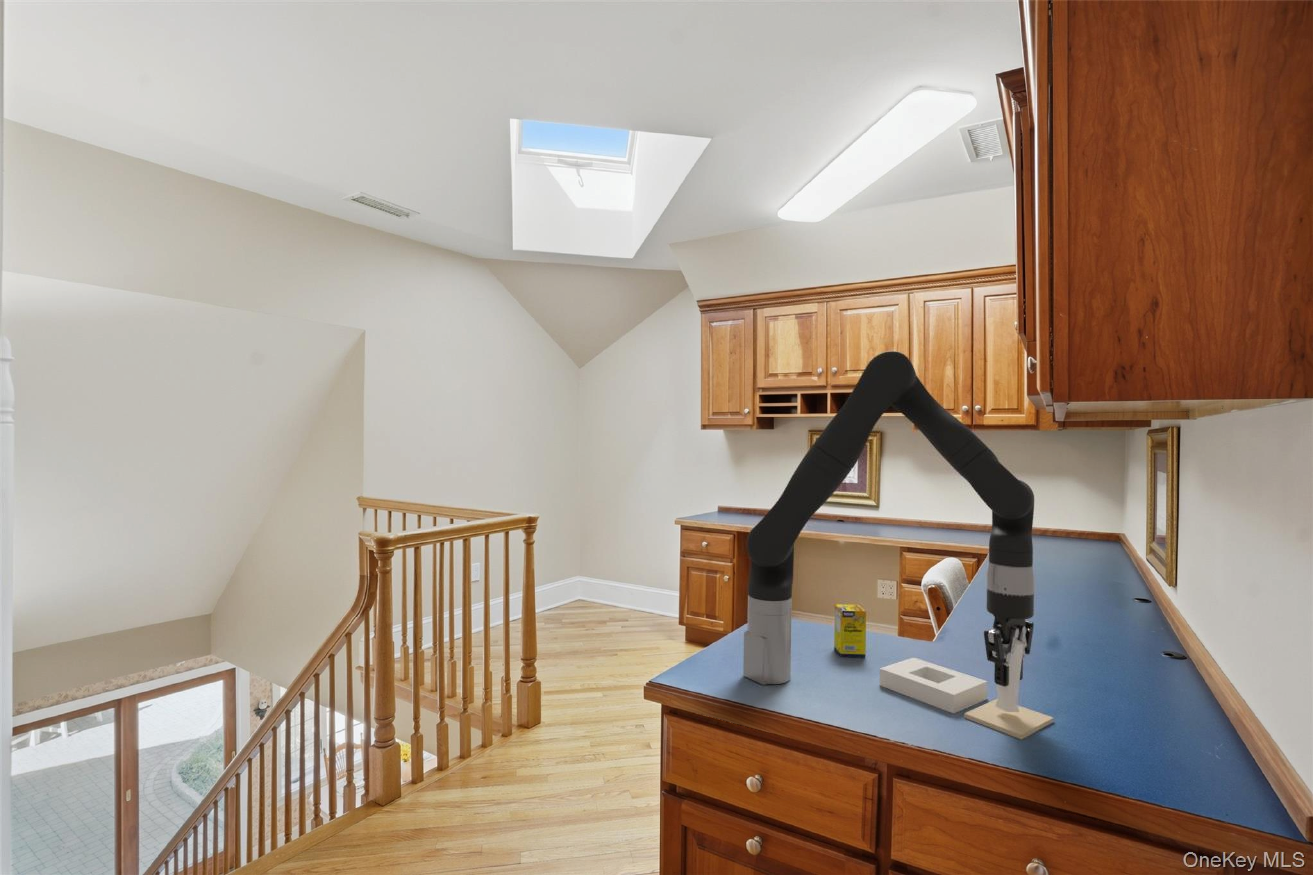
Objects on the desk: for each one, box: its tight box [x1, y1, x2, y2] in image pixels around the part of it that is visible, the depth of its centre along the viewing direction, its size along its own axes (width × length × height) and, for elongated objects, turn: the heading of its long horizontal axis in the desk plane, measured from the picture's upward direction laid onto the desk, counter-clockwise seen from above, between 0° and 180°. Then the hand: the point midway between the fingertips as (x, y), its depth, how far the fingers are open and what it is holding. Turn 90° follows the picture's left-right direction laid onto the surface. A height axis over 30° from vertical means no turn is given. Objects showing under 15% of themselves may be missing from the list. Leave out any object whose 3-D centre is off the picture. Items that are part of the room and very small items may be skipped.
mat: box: [963, 698, 1054, 740], centre depth 115 cm, size 12×10×1 cm
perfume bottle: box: [995, 639, 1023, 712], centre depth 114 cm, size 5×4×15 cm
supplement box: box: [833, 603, 867, 658], centre depth 149 cm, size 6×6×11 cm
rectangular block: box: [879, 657, 988, 714], centre depth 127 cm, size 12×16×4 cm
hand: (1008, 681), depth 115 cm, fingers closed on perfume bottle, 4 cm apart
